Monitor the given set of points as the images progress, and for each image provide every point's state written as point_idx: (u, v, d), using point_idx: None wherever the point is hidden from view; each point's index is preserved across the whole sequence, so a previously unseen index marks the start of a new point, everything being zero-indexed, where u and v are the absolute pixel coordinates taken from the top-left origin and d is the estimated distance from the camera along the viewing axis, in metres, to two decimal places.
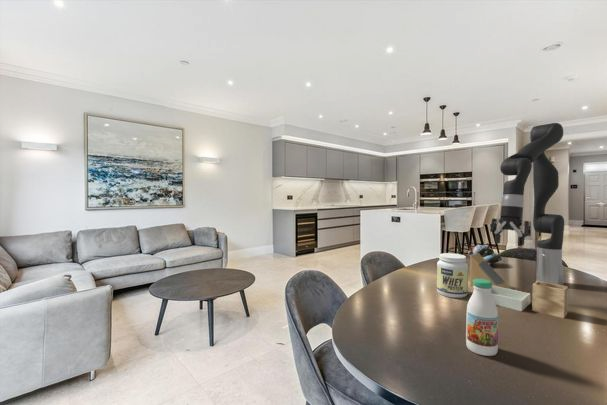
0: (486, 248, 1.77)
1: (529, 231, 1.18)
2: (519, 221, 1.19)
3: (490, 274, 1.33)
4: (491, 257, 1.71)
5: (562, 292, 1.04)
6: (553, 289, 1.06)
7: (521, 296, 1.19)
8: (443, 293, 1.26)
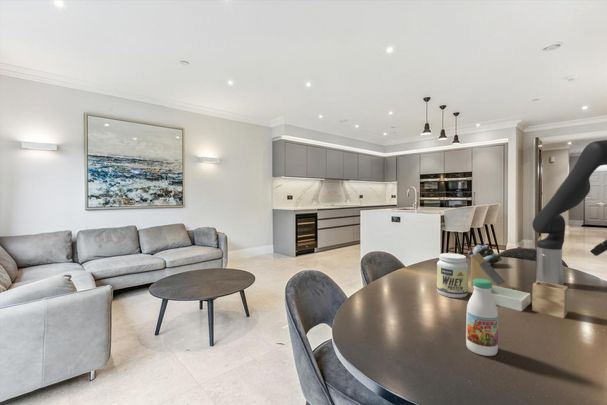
0: (486, 248, 1.76)
1: None
2: None
3: (491, 274, 1.33)
4: (491, 257, 1.71)
5: (562, 292, 1.04)
6: (553, 289, 1.06)
7: (521, 296, 1.19)
8: (443, 293, 1.26)
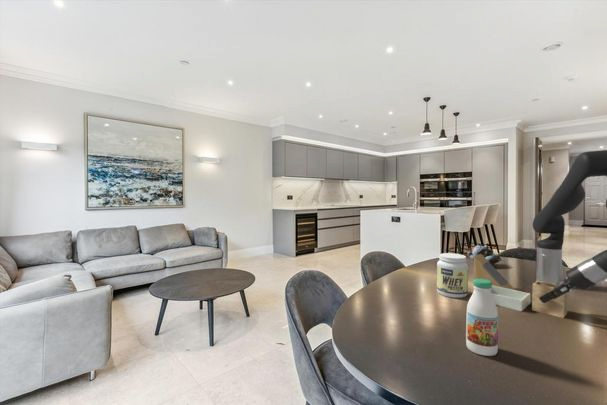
0: (485, 248, 1.75)
1: None
2: None
3: (494, 275, 1.32)
4: (491, 258, 1.70)
5: None
6: None
7: (521, 296, 1.19)
8: (443, 293, 1.26)
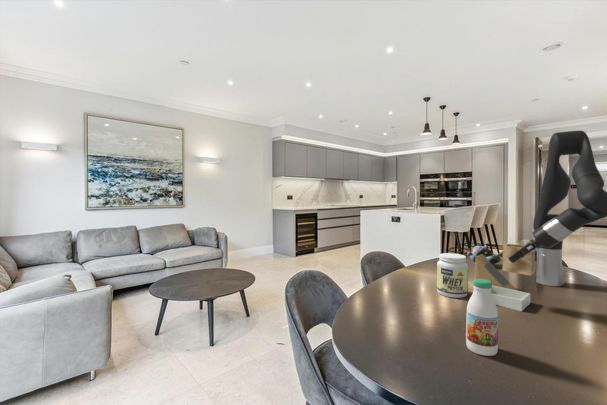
0: (485, 249, 1.75)
1: None
2: None
3: (496, 275, 1.31)
4: (491, 258, 1.69)
5: None
6: None
7: (521, 296, 1.19)
8: (443, 293, 1.26)
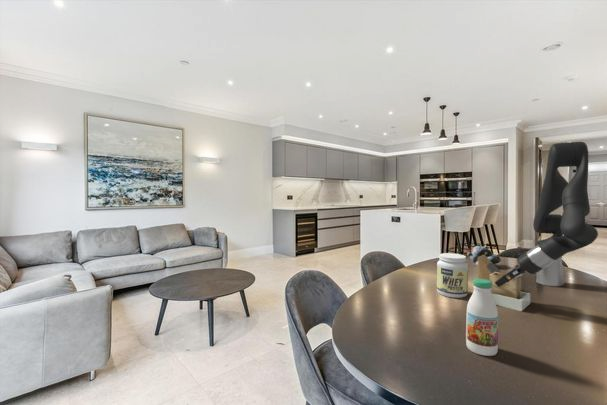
0: (485, 249, 1.74)
1: None
2: None
3: None
4: (491, 258, 1.68)
5: (514, 281, 1.14)
6: None
7: (521, 296, 1.19)
8: (443, 293, 1.26)
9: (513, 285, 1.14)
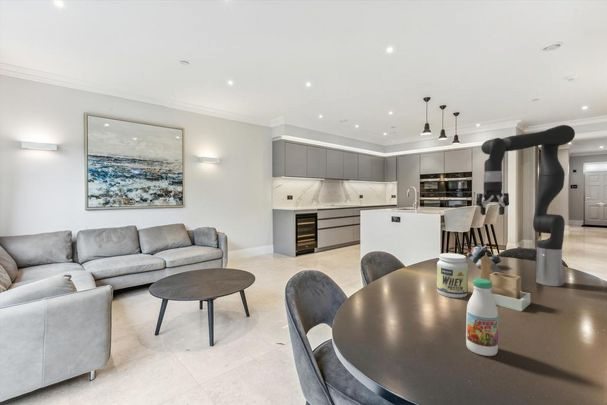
0: (485, 249, 1.73)
1: (505, 201, 1.42)
2: (501, 194, 1.40)
3: None
4: (492, 259, 1.67)
5: (514, 281, 1.14)
6: (507, 279, 1.16)
7: (521, 296, 1.19)
8: (443, 293, 1.26)
9: (513, 285, 1.14)
